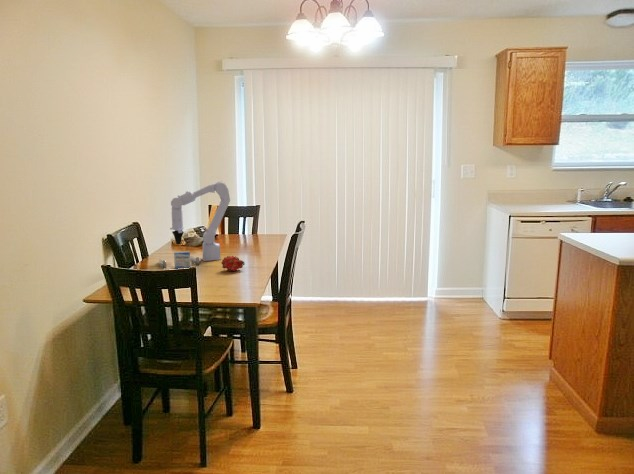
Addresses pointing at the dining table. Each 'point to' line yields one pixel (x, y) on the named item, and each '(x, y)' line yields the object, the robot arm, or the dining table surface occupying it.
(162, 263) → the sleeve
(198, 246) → the dining table surface
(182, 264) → the medicine box
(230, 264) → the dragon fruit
